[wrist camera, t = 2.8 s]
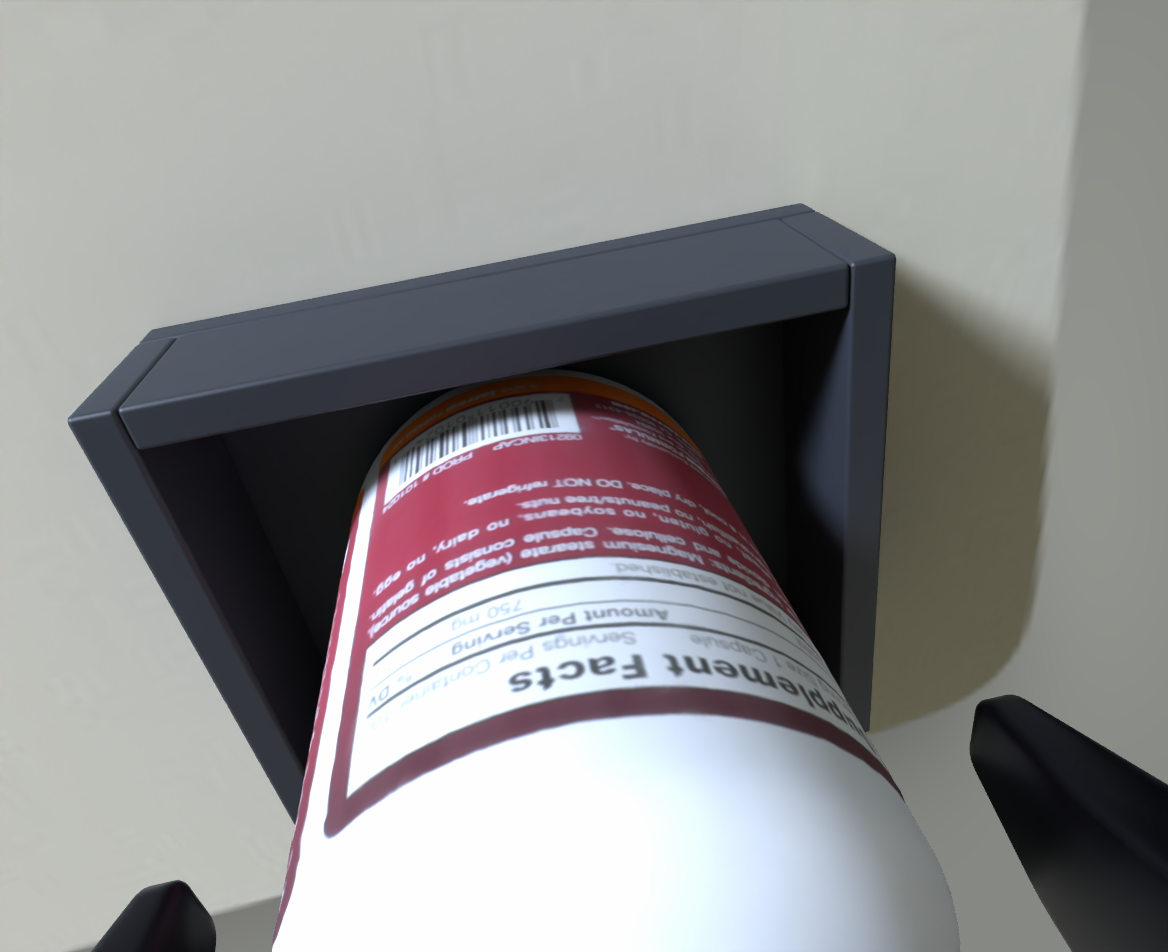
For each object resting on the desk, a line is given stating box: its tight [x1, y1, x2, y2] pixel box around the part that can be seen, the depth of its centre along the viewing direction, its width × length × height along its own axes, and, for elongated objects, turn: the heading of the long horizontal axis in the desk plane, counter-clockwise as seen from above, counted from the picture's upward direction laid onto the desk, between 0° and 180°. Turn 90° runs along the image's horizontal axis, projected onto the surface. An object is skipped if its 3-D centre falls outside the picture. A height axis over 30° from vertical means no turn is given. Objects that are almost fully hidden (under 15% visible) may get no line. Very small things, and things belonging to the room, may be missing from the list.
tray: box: [68, 204, 896, 824], centre depth 13 cm, size 10×9×3 cm
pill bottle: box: [272, 369, 960, 952], centre depth 9 cm, size 6×6×11 cm
